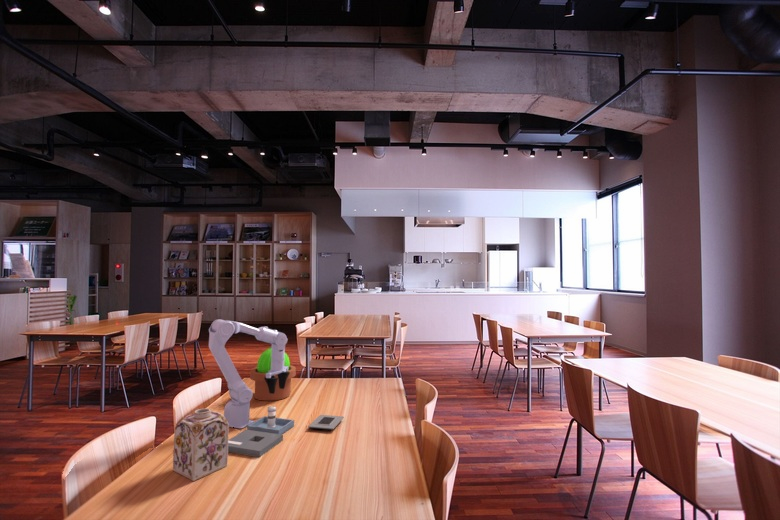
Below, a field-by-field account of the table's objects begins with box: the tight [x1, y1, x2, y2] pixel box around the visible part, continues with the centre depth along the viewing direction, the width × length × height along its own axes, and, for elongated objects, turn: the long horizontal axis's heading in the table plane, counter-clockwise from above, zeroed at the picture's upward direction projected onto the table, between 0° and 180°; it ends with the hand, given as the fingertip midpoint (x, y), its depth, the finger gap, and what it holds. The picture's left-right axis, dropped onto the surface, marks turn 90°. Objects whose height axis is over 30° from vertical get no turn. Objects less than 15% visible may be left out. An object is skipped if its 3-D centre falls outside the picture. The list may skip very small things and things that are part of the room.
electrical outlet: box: [307, 414, 345, 431], centre depth 154 cm, size 13×10×2 cm
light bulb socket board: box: [228, 429, 284, 458], centre depth 135 cm, size 16×14×2 cm
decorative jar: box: [172, 407, 230, 482], centre depth 119 cm, size 12×12×18 cm
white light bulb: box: [267, 405, 277, 429], centre depth 150 cm, size 3×3×8 cm
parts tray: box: [246, 415, 295, 435], centre depth 150 cm, size 14×11×2 cm
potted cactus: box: [249, 346, 297, 402], centre depth 193 cm, size 22×22×25 cm
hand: (277, 390), depth 166 cm, fingers open, 7 cm apart
